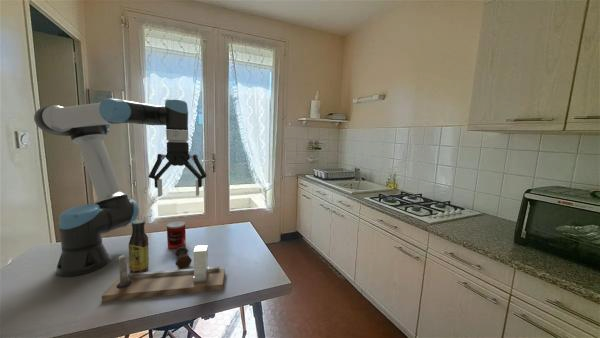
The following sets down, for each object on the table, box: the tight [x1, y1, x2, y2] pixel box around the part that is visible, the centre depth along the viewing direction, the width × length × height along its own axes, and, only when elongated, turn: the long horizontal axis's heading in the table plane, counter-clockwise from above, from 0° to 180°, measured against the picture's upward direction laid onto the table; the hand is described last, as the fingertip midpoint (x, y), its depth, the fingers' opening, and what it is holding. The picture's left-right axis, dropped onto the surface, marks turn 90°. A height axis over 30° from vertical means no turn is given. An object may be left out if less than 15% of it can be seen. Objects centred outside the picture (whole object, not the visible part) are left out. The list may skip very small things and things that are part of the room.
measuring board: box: [101, 254, 226, 302], centre depth 83 cm, size 36×10×12 cm, turn 103°
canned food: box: [166, 220, 187, 251], centre depth 112 cm, size 8×8×11 cm
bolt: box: [174, 245, 193, 270], centre depth 101 cm, size 6×5×15 cm
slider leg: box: [192, 245, 209, 283], centre depth 85 cm, size 4×6×11 cm, turn 13°
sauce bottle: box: [128, 219, 150, 274], centre depth 91 cm, size 6×6×20 cm
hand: (179, 195), depth 94 cm, fingers open, 13 cm apart
